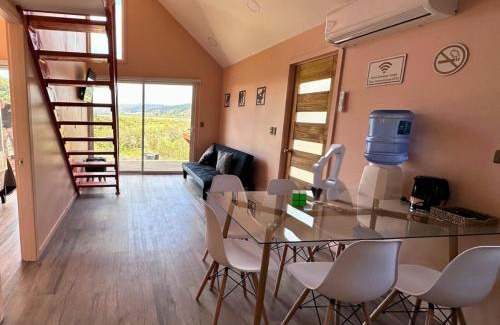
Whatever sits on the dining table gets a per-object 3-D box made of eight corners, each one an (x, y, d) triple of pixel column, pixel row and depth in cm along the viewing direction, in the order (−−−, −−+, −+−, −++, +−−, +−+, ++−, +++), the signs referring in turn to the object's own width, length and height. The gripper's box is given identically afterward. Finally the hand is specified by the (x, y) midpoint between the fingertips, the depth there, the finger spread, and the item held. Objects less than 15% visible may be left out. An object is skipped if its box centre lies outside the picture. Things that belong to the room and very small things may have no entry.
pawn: (315, 199, 227) (316, 189, 225) (320, 200, 223) (321, 190, 222) (312, 200, 224) (312, 190, 223) (317, 201, 220) (317, 191, 219)
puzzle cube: (304, 203, 223) (305, 190, 221) (306, 207, 213) (306, 193, 212) (291, 203, 224) (291, 190, 222) (291, 206, 214) (292, 193, 213)
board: (317, 201, 229) (317, 200, 229) (346, 208, 211) (347, 207, 211) (309, 203, 222) (309, 202, 222) (339, 211, 204) (339, 210, 204)
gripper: (306, 178, 224) (305, 196, 226) (322, 182, 213) (321, 200, 215) (311, 177, 229) (310, 195, 231) (328, 180, 218) (327, 198, 220)
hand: (316, 197), depth 223 cm, fingers closed on pawn, 3 cm apart
